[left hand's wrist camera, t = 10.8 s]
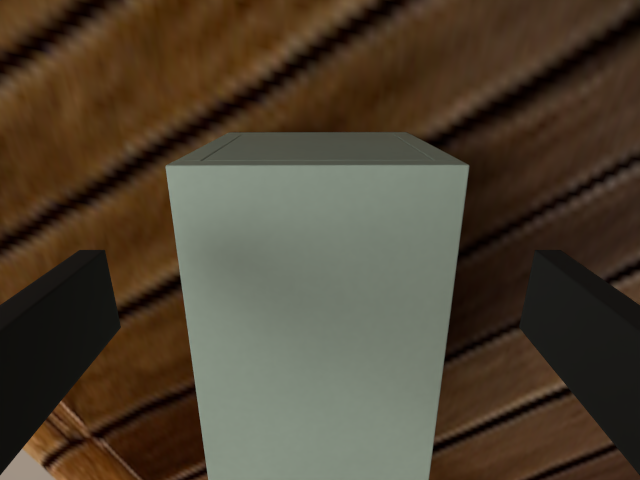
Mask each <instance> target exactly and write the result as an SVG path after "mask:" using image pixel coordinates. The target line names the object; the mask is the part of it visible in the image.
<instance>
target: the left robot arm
mask: <svg viewBox="0 0 640 480" xmlns="http://www.w3.org/2000/svg"><path fill="white" fill-rule="evenodd" d="M120 328H121V326H120V321H119V316H118V311H117V307H116V302H115V297H114V292H113V287H112V283H111V278H110V273H109V268H108V263H107V258H106V254H105V250H79V251H78V252H76V253H75V254H73V255H72V256H70V257H69V258H68V259H66V260H65V261H63V262H62V263H60V264H59V265H57V266H56V267H55V268H53V269H52V270H50V271H49V272H47V273H46V274H45V275H43V276H42V277H40V278H39V279H37V280H36V281H34V282H33V283H32V284H30V285H29V286H27V287H26V288H24V289H23V290H21V291H20V292H19V293H17V294H16V295H14V296H13V297H11V298H10V299H9V300H7V301H6V302H4V303H3V304H1V305H0V475H1V474H2V472H3V471H4V470H5V469H6V468H7V466H8V465H9V464H10V463H11V461H12V460H13V459H14V458H15V456H16V455H17V454H18V453H19V452H20V450H21V449H22V448H23V447H24V445H25V444H26V443H27V442H28V441H29V439H30V438H31V437H32V436H33V434H34V433H35V432H36V431H37V430H38V428H39V427H40V426H41V425H42V423H43V422H44V421H45V420H46V418H47V417H48V416H49V415H50V414H51V412H52V411H53V410H54V409H55V407H56V406H57V405H58V404H59V403H60V401H61V400H62V399H63V398H64V396H65V395H66V394H67V393H68V392H69V390H70V389H71V388H72V387H73V385H74V384H75V383H76V382H77V380H78V379H79V378H80V377H81V376H82V374H83V373H84V372H85V371H86V369H87V368H88V367H89V366H90V365H91V363H92V362H93V361H94V360H95V358H96V357H97V356H98V355H99V353H100V352H101V351H102V350H103V349H104V347H105V346H106V345H107V344H108V342H109V341H110V340H111V339H112V338H113V336H114V335H115V334H116V333H117V331H118V330H119V329H120ZM519 328H520V329H521V330H522V331H523V333H524V334H525V335H526V336H527V338H528V339H529V340H530V341H531V342H532V344H533V345H534V346H535V347H536V349H537V350H538V351H539V352H540V353H541V355H542V356H543V357H544V358H545V360H546V361H547V362H548V363H549V365H550V366H551V367H552V368H553V369H554V371H555V372H556V373H557V374H558V376H559V377H560V378H561V379H562V380H563V382H564V383H565V384H566V385H567V387H568V388H569V389H570V390H571V392H572V393H573V394H574V395H575V396H576V398H577V399H578V400H579V401H580V403H581V404H582V405H583V406H584V407H585V409H586V410H587V411H588V412H589V414H590V415H591V416H592V417H593V418H594V420H595V421H596V422H597V423H598V425H599V426H600V427H601V428H602V430H603V431H604V432H605V433H606V434H607V436H608V437H609V438H610V439H611V441H612V442H613V443H614V444H615V445H616V447H617V448H618V449H619V450H620V452H621V453H622V454H623V455H624V456H625V458H626V459H627V460H628V461H629V463H630V464H631V465H632V466H633V468H634V469H635V470H636V471H637V472H638V474H639V475H640V305H639V304H637V303H636V302H634V301H633V300H631V299H630V298H629V297H627V296H626V295H624V294H623V293H621V292H620V291H619V290H617V289H616V288H614V287H613V286H611V285H610V284H608V283H607V282H606V281H604V280H603V279H601V278H600V277H598V276H597V275H595V274H594V273H593V272H591V271H590V270H588V269H587V268H585V267H584V266H583V265H581V264H580V263H578V262H577V261H575V260H574V259H572V258H571V257H570V256H568V255H567V254H565V253H564V252H562V251H561V250H535V254H534V258H533V263H532V268H531V273H530V278H529V283H528V287H527V292H526V297H525V302H524V307H523V311H522V316H521V321H520V326H519Z"/></svg>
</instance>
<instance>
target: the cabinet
mask: <svg viewBox="0 0 640 480" xmlns="http://www.w3.org/2000/svg"><path fill="white" fill-rule="evenodd" d="M166 173H167V180H168V187H169V195H170V202H171V209H172V217H173V224H174V231H175V239H176V246H177V253H178V261H179V268H180V275H181V283H182V290H183V297H184V304H185V312H186V319H187V326H188V334H189V341H190V348H191V356H192V363H193V370H194V378H195V385H196V392H197V400H198V407H199V414H200V422H201V429H202V436H203V444H204V451H205V458H206V465H207V473H208V480H429V473H430V466H431V458H432V450H433V443H434V435H435V427H436V419H437V412H438V404H439V396H440V389H441V381H442V373H443V365H444V358H445V350H446V342H447V335H448V327H449V319H450V311H451V304H452V296H453V288H454V281H455V273H456V265H457V257H458V250H459V242H460V234H461V227H462V219H463V211H464V203H465V196H466V188H467V180H468V173H469V165H468V164H466V163H464V162H462V161H460V160H459V159H457V158H455V157H453V156H451V155H449V154H447V153H445V152H443V151H441V150H439V149H438V148H436V147H434V146H432V145H430V144H428V143H426V142H424V141H422V140H420V139H419V138H417V137H415V136H413V135H411V134H409V133H407V132H254V133H228V134H226V135H224V136H222V137H220V138H218V139H216V140H214V141H212V142H210V143H209V144H207V145H205V146H203V147H201V148H199V149H197V150H195V151H193V152H191V153H190V154H188V155H186V156H184V157H182V158H180V159H178V160H176V161H174V162H172V163H170V164H168V165H166Z"/></svg>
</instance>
